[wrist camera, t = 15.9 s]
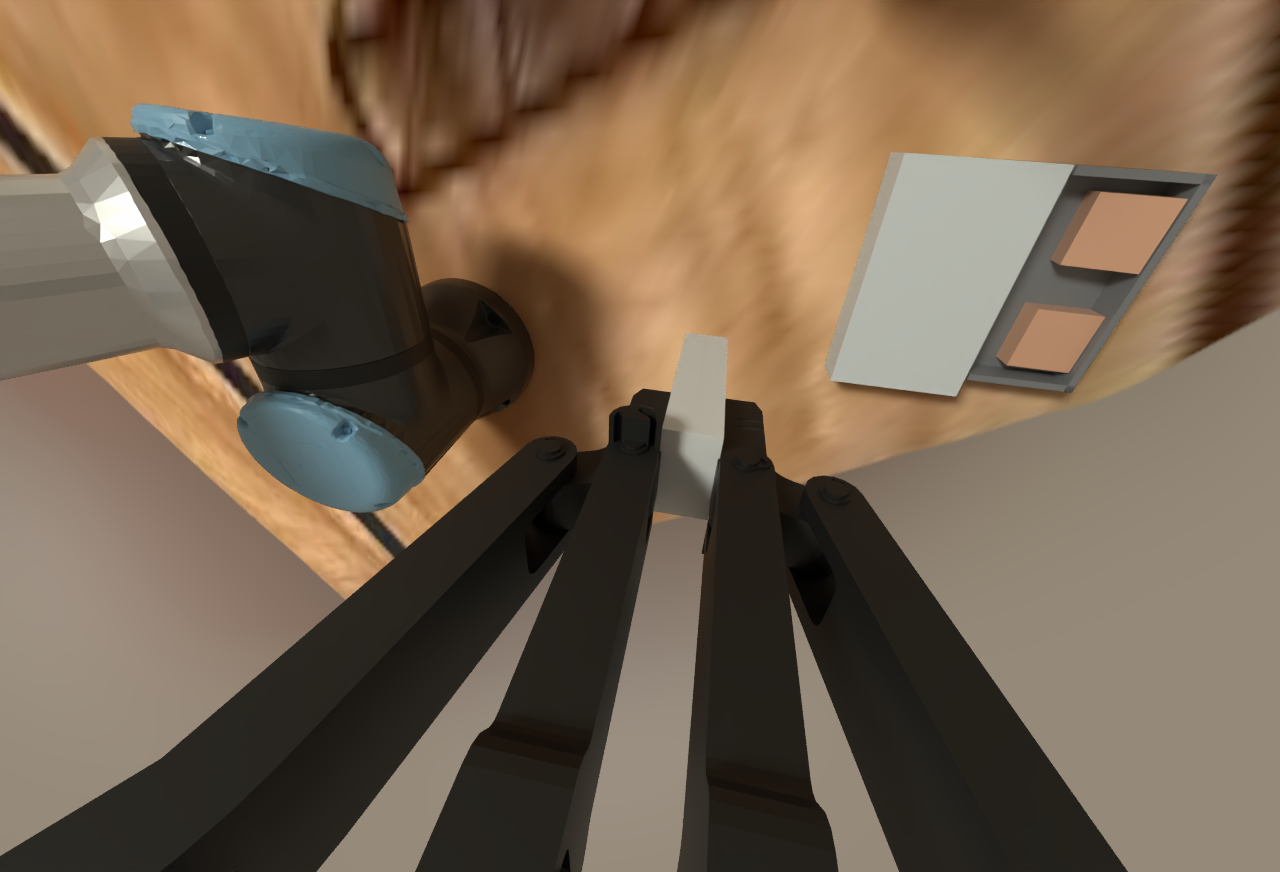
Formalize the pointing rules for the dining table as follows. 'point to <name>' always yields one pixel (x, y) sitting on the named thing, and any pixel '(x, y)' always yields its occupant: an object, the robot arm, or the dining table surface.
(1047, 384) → the tray
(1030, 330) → the tile far
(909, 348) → the board
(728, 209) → the dining table surface
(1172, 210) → the tile near
